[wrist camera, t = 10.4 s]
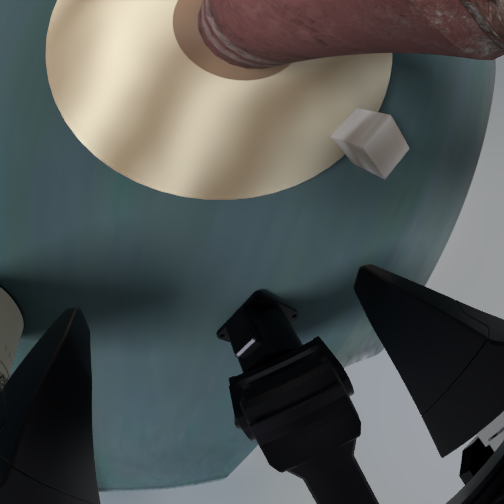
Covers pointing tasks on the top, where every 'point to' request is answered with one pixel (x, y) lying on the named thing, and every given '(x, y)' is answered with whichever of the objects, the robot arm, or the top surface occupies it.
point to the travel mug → (8, 334)
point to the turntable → (210, 103)
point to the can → (349, 29)
